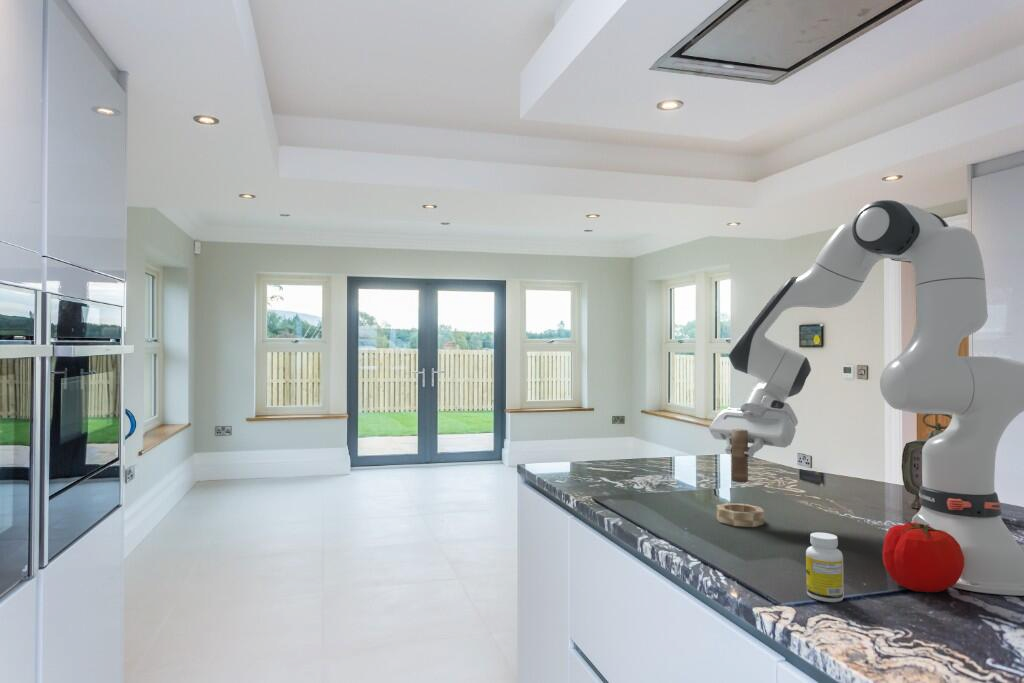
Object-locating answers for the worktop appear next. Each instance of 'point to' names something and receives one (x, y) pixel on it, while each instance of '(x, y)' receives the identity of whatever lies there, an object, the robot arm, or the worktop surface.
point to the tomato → (922, 557)
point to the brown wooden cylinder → (739, 455)
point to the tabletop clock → (916, 460)
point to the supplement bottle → (824, 568)
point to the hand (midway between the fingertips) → (738, 454)
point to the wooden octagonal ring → (740, 514)
